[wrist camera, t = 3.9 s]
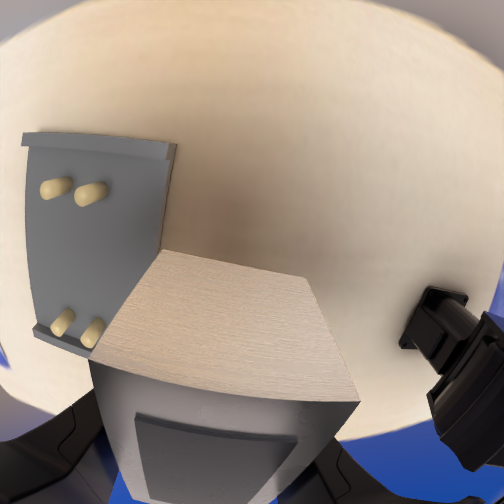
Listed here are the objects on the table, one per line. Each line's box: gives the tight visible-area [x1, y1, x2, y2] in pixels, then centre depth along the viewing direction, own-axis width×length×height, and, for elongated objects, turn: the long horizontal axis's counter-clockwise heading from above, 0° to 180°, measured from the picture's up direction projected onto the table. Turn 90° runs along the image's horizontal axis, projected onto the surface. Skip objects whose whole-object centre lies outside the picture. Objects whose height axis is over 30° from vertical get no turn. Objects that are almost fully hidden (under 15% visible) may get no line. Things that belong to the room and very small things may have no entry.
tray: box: [21, 132, 177, 359], centre depth 17 cm, size 12×18×4 cm, turn 167°
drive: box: [88, 249, 361, 504], centre depth 7 cm, size 4×8×5 cm, turn 167°
